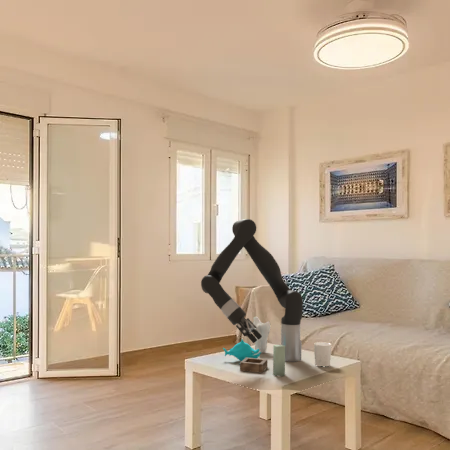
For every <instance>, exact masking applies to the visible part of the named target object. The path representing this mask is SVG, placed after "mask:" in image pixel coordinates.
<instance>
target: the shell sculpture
mask: <svg viewBox="0 0 450 450" xmlns="http://www.w3.org/2000/svg"><path fill="white" fill-rule="evenodd" d="M252 323H253V324H254V325H255V326H256V327H257V328H256V329H257V331H258V332H259V333H260V334H261V336H262V337H261V338H260V339H259V340H258V339H257V338H256V337H255V338H256V339H257V341H256V342H255V343H254V350H257V349H259V350H260V352H261V353H260V354H264V353H266V352H267V347H268V337H269V335H270V332H271V322H270V320H267V321H266V322H262V321H261V320H260V318H259V316H254V317H253V321H252Z"/></svg>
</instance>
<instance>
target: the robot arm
mask: <svg viewBox="0 0 450 450" xmlns="http://www.w3.org/2000/svg"><path fill="white" fill-rule="evenodd" d="M231 230H232V234H233V236H234V237H233V239H232V240H231V241H230V242H229V244H228V245H226V247H225V248H224V249H223V250H222V251H221V252H220V253H219V254H218V256H217V257H216V258H215V260H214V262H213V264H212V265H211V266H210V270H209V272H208V274H207V275H204V276H203V277H202V278H201V280H200V281H201V282H200V286H201V290H202V291H203V293H206V294H208V295H209V296H210V297H211V298H212V300H213V301H214V304H215V305H216V306H217V307H218V308H219V310H221V312H222V314H223V315H224V316H225V317H226V319H227V320H228V321H229V322H230V323H231V324H232V325H233V326H236V328H237V330H238V331H239V332H240V333H241V334H242V336H244V337H246V338H248V340H250V342H251V343H253V344H255V342H256V341H257V339H258V340H259V339H260V338H261V337H262V336H261V334H260V333H259V332H258V331H257V329H256V328H257V327H256V326H255V325H254V324H253V321H252V320H250V318H245V317H246V315H247V312H246V311H245V310H243V308H242V307H241V306H240V305H239V304H238V302H237V301H235V300H234V299H233V298H232V297H231V296H230V295H229V293H228V292H227V291H226V290H225V289H224V288H223V286H222V285H221V284H220V283H221V281H222V278H224V275H225V274H226V272H228V269H230V266H231V265H232V263H233V262H234V260H235V259H236V258H237V256H238V255H239V253H240V252H241V251H242V250H243V248H244V250H245V251H246V252H247V254H248V256H250V259H251V260H252V261H253V263H254V265H255V266H256V268H257V270H258V271H259V272H260V274H261V275H262V277H263V278H264V280H265V281H266V282H267V284H268V285H269V286H270V288H271V290H272V291H273V293H274V296H275V297H276V298H277V301H278V303H279V304H280V306H281V307H282V308H284V316H282V317H281V320H280V321H281V322H280V323H281V324H280V325H281V327H280V332H281V333H280V335H281V337H280V345H284V346H285V362H301V361H302V345H303V344H302V342H303V341H302V340H301V320H302V318H303V307H304V302H303V301H304V300H303V296H302V294H301V293H300V292H298V291H296V290H292V289H291V288H290V287H289V286H288V285H287V283H286V282H285V281H284V278H283V276H282V271H281V268H280V266H279V264H278V262H277V260H276V259H275V258H274V256H273V255H272V254H271V252H269V251H268V249H266V248H265V247H264V246H263V245H262V244H261V243H260V242H258V240H257V239H256V237H255V235H256V232H257V224H256V222H255V221H254V220H253V219H249V218H244V219H239V220H236V221H234V223H233V224H232V229H231ZM255 337H256V338H257V339H256V338H255Z"/></svg>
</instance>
